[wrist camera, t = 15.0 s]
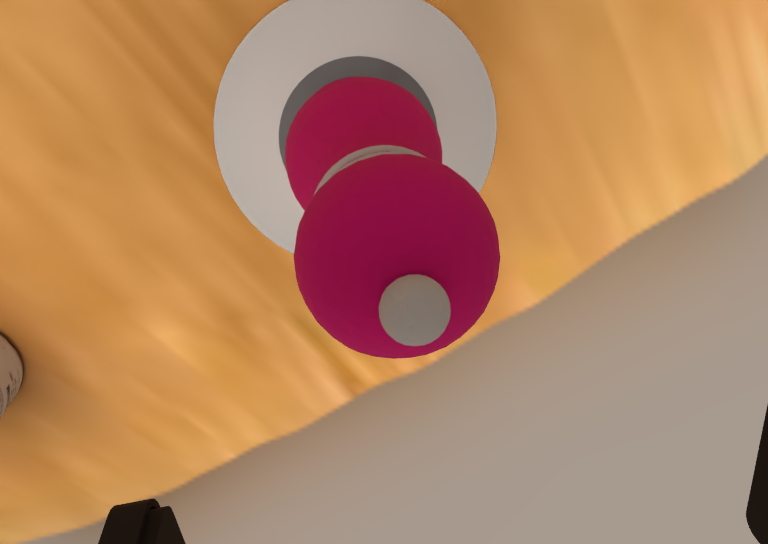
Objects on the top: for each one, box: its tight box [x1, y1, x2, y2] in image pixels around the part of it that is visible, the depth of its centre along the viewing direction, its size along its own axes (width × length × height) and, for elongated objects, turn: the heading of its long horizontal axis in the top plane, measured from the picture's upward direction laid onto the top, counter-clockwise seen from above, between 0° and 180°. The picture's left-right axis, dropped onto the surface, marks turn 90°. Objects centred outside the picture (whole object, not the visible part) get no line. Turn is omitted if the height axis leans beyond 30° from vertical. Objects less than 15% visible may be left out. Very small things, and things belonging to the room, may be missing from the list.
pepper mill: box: [285, 77, 500, 358], centre depth 23 cm, size 7×7×20 cm
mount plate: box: [213, 0, 497, 254], centre depth 33 cm, size 15×15×1 cm
